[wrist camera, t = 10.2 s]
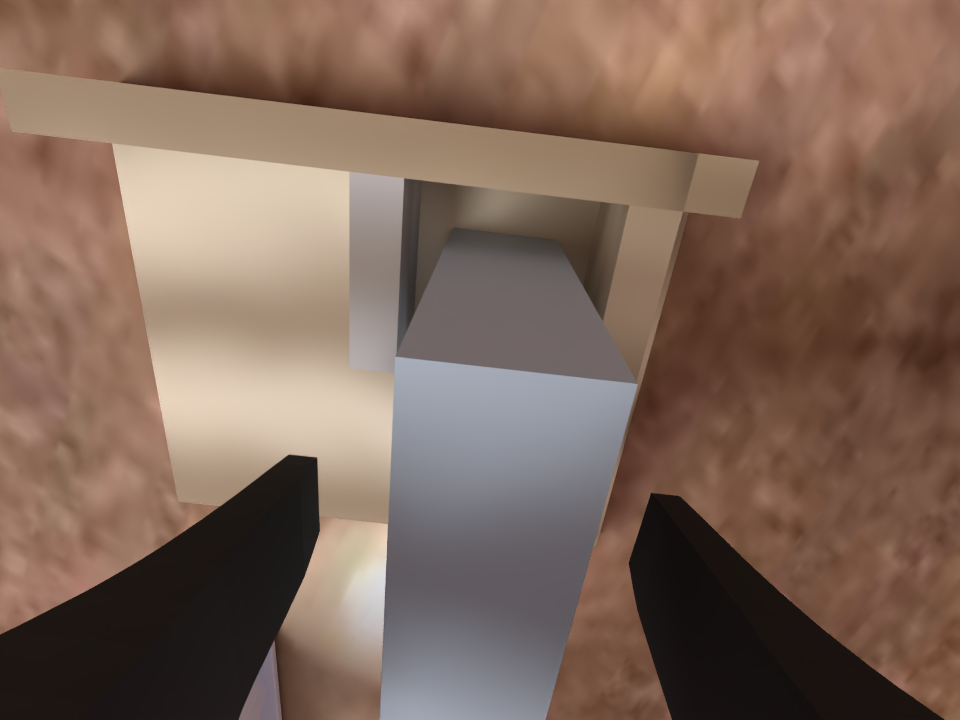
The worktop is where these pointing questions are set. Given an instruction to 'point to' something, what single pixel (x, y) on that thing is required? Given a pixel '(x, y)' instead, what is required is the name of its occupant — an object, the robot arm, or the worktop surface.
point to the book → (495, 479)
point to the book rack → (345, 257)
